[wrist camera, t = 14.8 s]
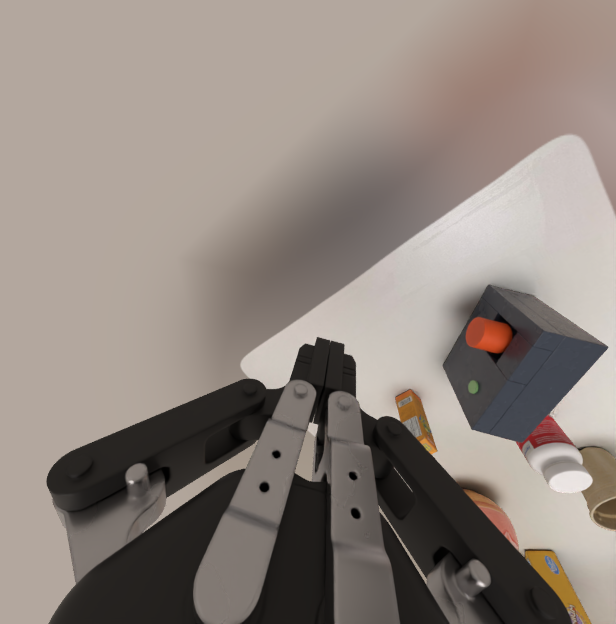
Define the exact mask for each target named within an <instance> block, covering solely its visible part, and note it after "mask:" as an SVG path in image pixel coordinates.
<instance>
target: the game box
mask: <svg viewBox="0 0 616 624" xmlns="http://www.w3.org/2000/svg"><path fill="white" fill-rule="evenodd" d="M525 559H526V560H527V561H528V562H529V563H530V565H531V566H532V567H533V568H534V569H535V570H536V571H537V572H538V573H539V574H540V576H541V577H542V578H543V579H544V580H545V581H546V582H547V583H548V584H549V586H550V587H551V588H552V589H553V590H554V591H555V592H556V594H557V595H558V596H559V598H560V599H561V601H562V602H563V604H564V605H565V607H566V609H567V611H568V613H569V615H570V618H571V621H572V624H591V622H590V620H589V618H588V616H587V614H586V612H585V610H584V608H583V606H582V604H581V602H580V601H579V599H578V597H577V595H576V593H575V591H574V589H573V587H572V585H571V583H570V581H569V579H568V578H567V576H566V574H565V572H564V570H563V568H562V566H561V564H560V562H559V560H558V558H557V556H556V555H555V553H554V552H553V551H526V552H525Z"/></svg>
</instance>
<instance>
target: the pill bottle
mask: <svg viewBox="0 0 616 624" xmlns="http://www.w3.org/2000/svg"><path fill="white" fill-rule="evenodd" d="M516 443H517V445H518V446H519V448H520V450H521V451H522V453H523V455H524V456H525V458H526V460H527V461H528V463H529V464H530V466H531V467H532V469H533V470H534V471H536V472H537V473H539V474H541V475H543V476H544V478H545V480H546V482H547V483H548V485H549V486H550V487H551V488H552V489H553V490H555V491H557V492H561V493H576V492H580V491H583V490H585V489H587V488H588V487H589V486H590V485H591V484H592V481H593V480H592V477H591V476H590V474H589V473H588V471H587V470H586V469H585V468H584V467H583V466H582V463H583V458H582V455H581V453H580V452H579V450H578V449H577V448H576V447H575V445H574V444H573V443H572V442H571V440H570V439H569V438H568V437H567V435H566V434H565V433H564V432H563V431H562V429H561V428H560V427H559V426H558V424H557V423H556V422H555V421H554V419H553V418H552V417H551V416H550V414H548V415H547V416H546V417H545V419H544V420H543V421H542V422H541V423H540V424H539V425H538V426H537V427H536V429H535V430H534V431H533V432H532V433H531V434H530V435H529V436H528V437H527V438H526V440H525V441H524V442H523V443H520V442H517V441H516Z"/></svg>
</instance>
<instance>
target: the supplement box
mask: <svg viewBox="0 0 616 624" xmlns="http://www.w3.org/2000/svg"><path fill="white" fill-rule="evenodd" d="M396 403H397V407H398V412H399V416H400V421H401V422H402V423H403V424H404V425H405V426H406V427H407V428H408V430H409V431H410V432H411V433H412V434H413V435H414V436H415V437H416V438H417V439H418V441H419V442H420V443H421V444H422V445H423V446H424V447H425V448H426V449H427V451H428V452H429V453H430V454H433V453H435V452H437V449H436V446H435V443H434V439H433V436H432V433H431V430H430V427H429V424H428V421H427V418H426V415H425V412H424V408H423V405H422V402H421V399H420V398H419V397H418V396H417V395H416V394H415V393H414V392H413V391H412V390H408V391H406V392H404V393H403V394H401V395H399V396H397V397H396Z"/></svg>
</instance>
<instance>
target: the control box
mask: <svg viewBox="0 0 616 624" xmlns="http://www.w3.org/2000/svg"><path fill="white" fill-rule="evenodd" d="M477 317H481V318H485V319H489V320H493V321H497V322H501V323H505V324H508V325H509V326H510V327H511V329H512V341H511V342H510V344H509V345H508V347H507V348H506V350H505V351H504V352H503V353H500V354H497V353H493V352H489V351H485V350H481V349H477V348H473V347H470V346H469V345H468V344H467V342H466V331H467V328H468V326H469V324H470V322H471V321H472V320H473V319H474V318H477ZM607 349H608V346H606V345H605V344H603V343H602V342H600V341H599V340H597V339H596V338H595V337H593V336H592V335H590V334H589V333H587V332H586V331H584V330H583V329H581V328H580V327H578V326H577V325H576V324H574V323H573V322H571V321H570V320H568V319H567V318H565V317H564V316H562V315H561V314H560V313H558V312H557V311H555V310H554V309H552V308H551V307H549V306H548V305H546V304H545V303H543V302H542V301H541V300H539V299H538V298H536V297H535V296H532V295H528V294H524V293H520V292H516V291H512V290H508V289H504V288H500V287H496V286H492V285H488V286H487V288H486V290H485V292H484V294H483V295H482V297H481V299H480V301H479V303H478V304H477V306H476V308H475V310H474V311H473V313H472V315H471V317H470V318H469V320H468V322H467V324H466V326H465V327H464V329H463V331H462V333H461V334H460V336H459V338H458V340H457V342H456V343H455V345H454V347H453V349H452V350H451V352H450V354H449V356H448V357H447V359H446V361H445V363H444V365H443V368H444V370H445V372H446V374H447V377H448V379H449V381H450V383H451V385H452V387H453V390H454V392H455V394H456V396H457V398H458V401H459V403H460V405H461V407H462V409H463V412H464V414H465V416H466V418H467V420H468V422H469V425H470V427H471V429H472V430H476V431H479V432H483V433H487V434H490V435H494V436H498V437H502V438H505V439H509V440H513V441H517V442H520V443H523V442H524V441H525V440H526V438H527V437H528V436H529V435H530V434H531V433H532V432H533V431H534V430H535V429H536V427H537V426H538V425H539V424H540V423H541V422H542V421H543V420H544V419H545V417H546V416H547V415H548V414H549V413H550V412H551V411H552V410H553V409H554V407H555V406H556V405H557V404H558V403H559V402H560V401H561V400H562V399H563V397H564V396H565V395H566V394H567V393H568V392H569V391H570V390H571V389H572V388H573V386H574V385H575V384H576V383H577V382H578V381H579V380H580V379H581V378H582V376H583V375H584V374H585V373H586V372H587V371H588V370H589V369H590V368H591V366H592V365H593V364H594V363H595V362H596V361H597V360H598V359H599V358H600V356H601V355H602V354H603V353H604V352H605V351H606V350H607Z"/></svg>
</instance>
